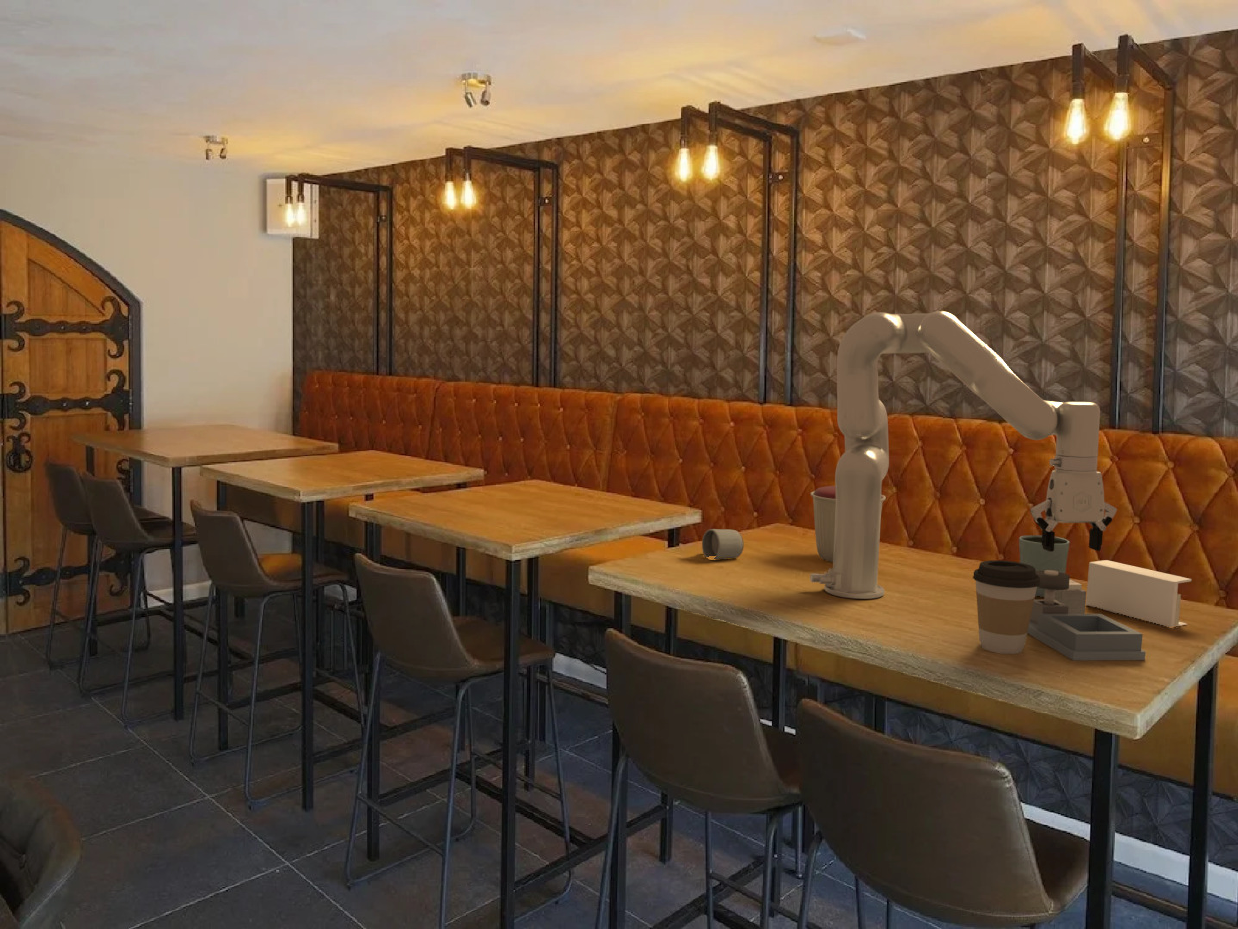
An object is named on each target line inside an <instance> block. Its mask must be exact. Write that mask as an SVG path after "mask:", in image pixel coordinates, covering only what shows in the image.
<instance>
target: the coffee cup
mask: <svg viewBox="0 0 1238 929" xmlns="http://www.w3.org/2000/svg"><path fill="white" fill-rule="evenodd" d="M972 579H973V580H974V581H975V590H976V592H975V593H976V609H977V621H978V622H977V623H978V625H977V626H978V636H979V638H978V639H979V643H980V647H981V648H982V649H983V650H986V651H988V652H992V653H995V654H1001V655H1003V654H1004V655H1016V654H1021V653H1023V650H1024V647H1025V645H1026V641H1027V636H1028V633H1027V631H1028V627H1029V622H1030V617H1031V612H1032V608H1033V603H1034V600H1035V598H1036V596H1035V594H1036V589H1037V586H1039V585H1040V584H1041V583H1040V577H1039V576H1038V575H1036V570H1035V568H1034V567H1033V566H1030V565H1028V564H1024V563H1020V561H1019V562H1018V561H1013V560H998V559H997V560H994V559H993V560H983V561H981V562H980V563H979V565H978V568H976V569H975V570H974V571H973V575H972Z"/></svg>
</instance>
